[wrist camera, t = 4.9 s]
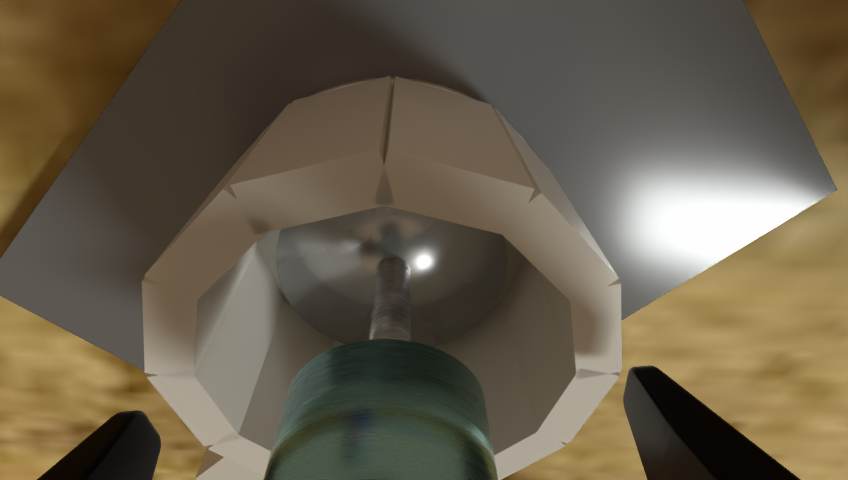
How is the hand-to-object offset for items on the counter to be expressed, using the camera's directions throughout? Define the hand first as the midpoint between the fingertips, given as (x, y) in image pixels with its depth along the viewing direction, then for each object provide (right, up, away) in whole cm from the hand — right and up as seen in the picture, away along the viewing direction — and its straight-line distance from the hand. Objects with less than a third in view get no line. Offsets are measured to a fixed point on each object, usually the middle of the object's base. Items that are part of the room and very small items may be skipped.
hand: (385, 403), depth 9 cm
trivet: (0, +3, +5) cm, 6 cm away
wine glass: (0, +3, +4) cm, 5 cm away
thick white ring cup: (0, +3, +5) cm, 6 cm away
